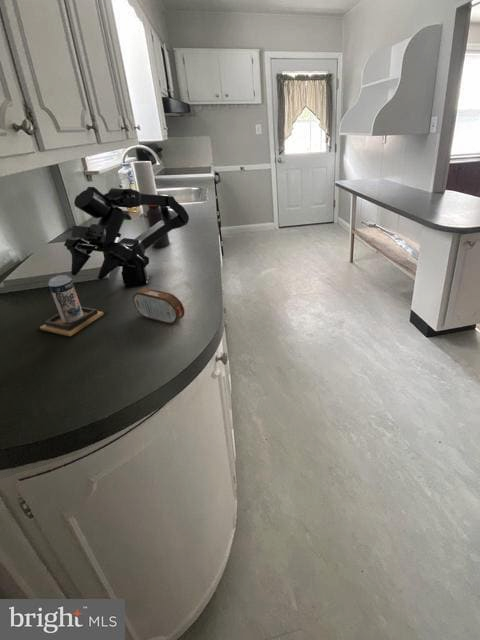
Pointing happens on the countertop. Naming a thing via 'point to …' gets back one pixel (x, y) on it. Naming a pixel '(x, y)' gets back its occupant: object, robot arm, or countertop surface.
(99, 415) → the countertop surface
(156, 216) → the bottle
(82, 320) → the socket pad
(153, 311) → the tin
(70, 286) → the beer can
